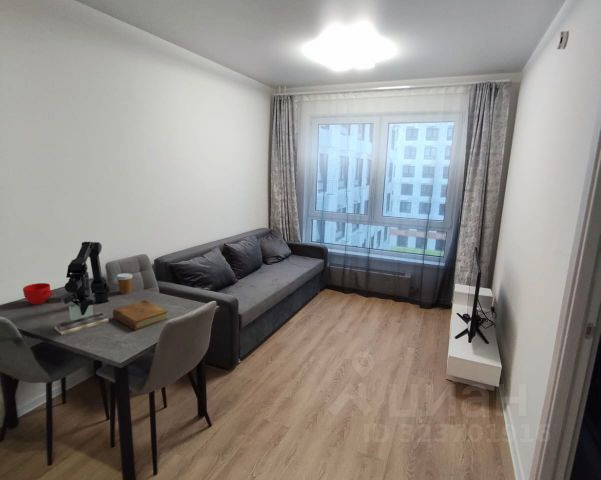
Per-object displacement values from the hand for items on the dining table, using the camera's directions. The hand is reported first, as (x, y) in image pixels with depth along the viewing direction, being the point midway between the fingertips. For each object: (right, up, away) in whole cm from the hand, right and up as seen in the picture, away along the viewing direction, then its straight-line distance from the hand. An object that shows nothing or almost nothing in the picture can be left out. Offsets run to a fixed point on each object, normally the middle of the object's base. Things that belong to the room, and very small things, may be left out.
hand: (81, 314), depth 184 cm
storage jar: (-24, +3, +39) cm, 46 cm away
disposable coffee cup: (-2, +4, +49) cm, 49 cm away
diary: (+26, -6, +11) cm, 29 cm away
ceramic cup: (-41, +1, +26) cm, 49 cm away
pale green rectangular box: (0, -1, 0) cm, 2 cm away
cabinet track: (0, -6, +1) cm, 6 cm away
